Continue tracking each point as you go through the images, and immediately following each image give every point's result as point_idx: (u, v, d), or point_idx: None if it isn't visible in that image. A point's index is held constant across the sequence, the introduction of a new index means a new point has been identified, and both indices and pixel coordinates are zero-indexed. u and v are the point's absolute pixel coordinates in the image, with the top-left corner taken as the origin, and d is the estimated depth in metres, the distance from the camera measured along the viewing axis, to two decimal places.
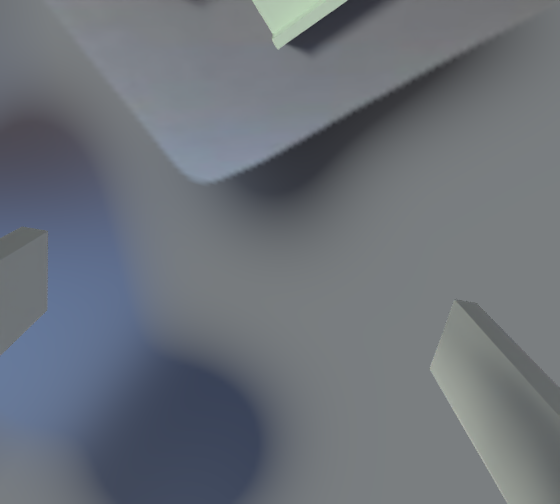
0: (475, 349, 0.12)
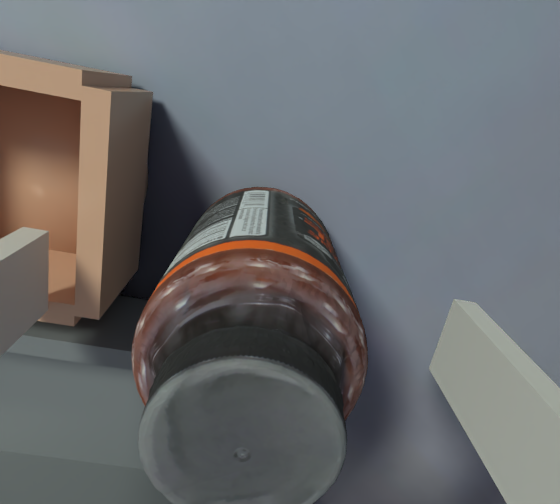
0: (474, 349, 0.12)
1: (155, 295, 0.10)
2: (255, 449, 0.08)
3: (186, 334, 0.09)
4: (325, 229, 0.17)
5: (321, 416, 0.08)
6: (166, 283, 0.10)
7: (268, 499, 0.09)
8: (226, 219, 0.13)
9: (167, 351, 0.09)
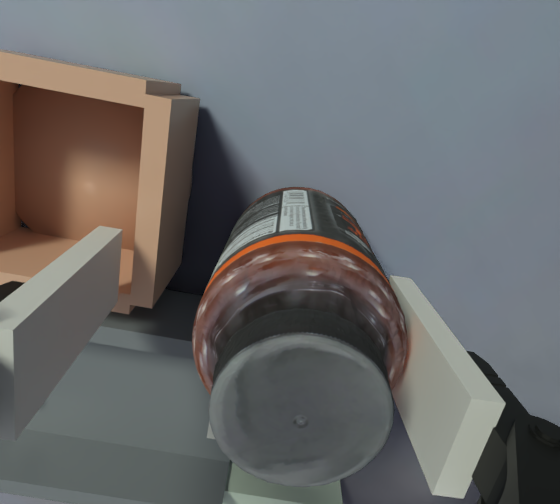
0: None
1: (215, 282, 0.11)
2: (312, 416, 0.09)
3: (247, 316, 0.10)
4: None
5: (372, 387, 0.09)
6: (225, 272, 0.11)
7: (322, 463, 0.10)
8: (272, 216, 0.14)
9: (229, 331, 0.10)
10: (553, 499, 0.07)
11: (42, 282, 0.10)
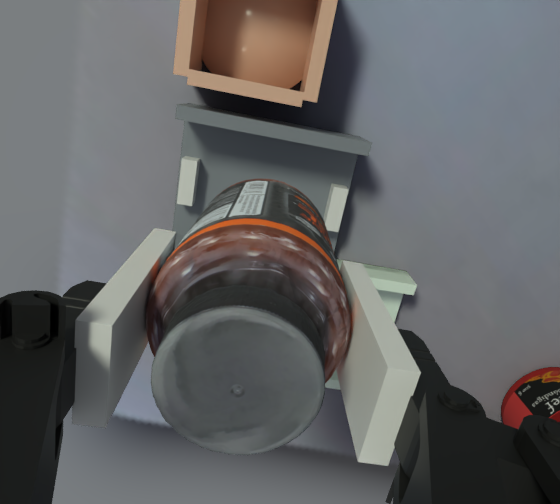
0: None
1: (165, 265, 0.12)
2: (248, 385, 0.10)
3: (191, 294, 0.11)
4: (320, 215, 0.18)
5: (302, 356, 0.09)
6: (174, 255, 0.12)
7: (260, 431, 0.10)
8: (227, 204, 0.15)
9: (175, 310, 0.11)
10: (460, 461, 0.07)
11: (122, 282, 0.11)
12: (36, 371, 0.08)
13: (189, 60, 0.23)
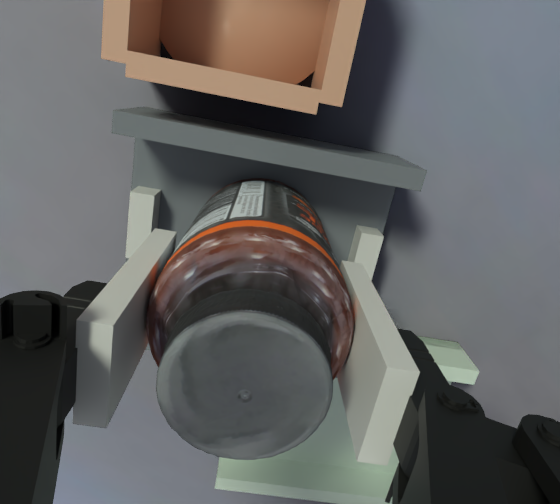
0: None
1: (166, 269, 0.12)
2: (256, 391, 0.10)
3: (195, 298, 0.11)
4: (317, 215, 0.18)
5: (310, 360, 0.09)
6: (175, 258, 0.12)
7: (268, 436, 0.10)
8: (226, 205, 0.14)
9: (178, 314, 0.11)
10: (459, 461, 0.07)
11: (123, 282, 0.11)
12: (37, 371, 0.08)
13: (128, 35, 0.14)
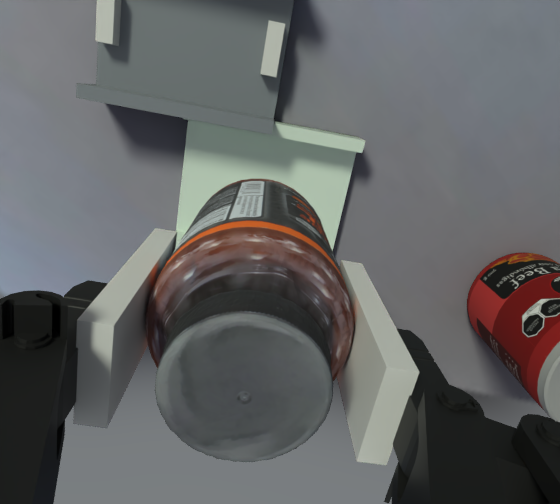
0: None
1: (165, 269, 0.12)
2: (255, 392, 0.09)
3: (194, 300, 0.11)
4: (317, 215, 0.18)
5: (310, 362, 0.09)
6: (175, 259, 0.11)
7: (267, 437, 0.10)
8: (226, 205, 0.14)
9: (178, 315, 0.11)
10: (458, 461, 0.07)
11: (123, 282, 0.11)
12: (38, 371, 0.08)
13: None
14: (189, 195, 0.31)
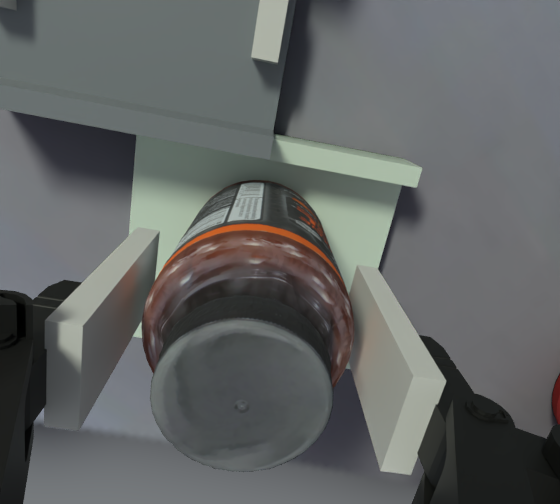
0: (363, 305, 0.14)
1: (162, 274, 0.11)
2: (253, 401, 0.09)
3: (191, 305, 0.10)
4: (317, 217, 0.18)
5: (309, 370, 0.09)
6: (171, 263, 0.11)
7: (265, 447, 0.10)
8: (224, 208, 0.14)
9: (173, 321, 0.10)
10: (488, 471, 0.07)
11: (98, 281, 0.11)
12: (3, 372, 0.07)
13: None
14: None
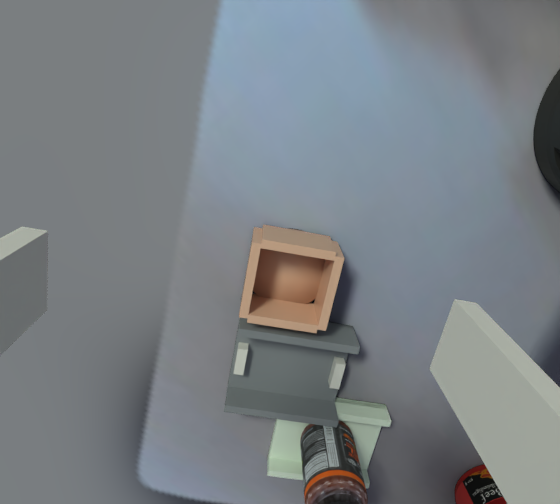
0: (475, 349, 0.12)
1: (313, 487, 0.40)
2: None
3: (325, 501, 0.39)
4: (351, 436, 0.46)
5: None
6: (316, 484, 0.40)
7: None
8: (324, 451, 0.43)
9: None
10: None
11: None
12: None
13: (248, 309, 0.39)
14: (278, 439, 0.49)
